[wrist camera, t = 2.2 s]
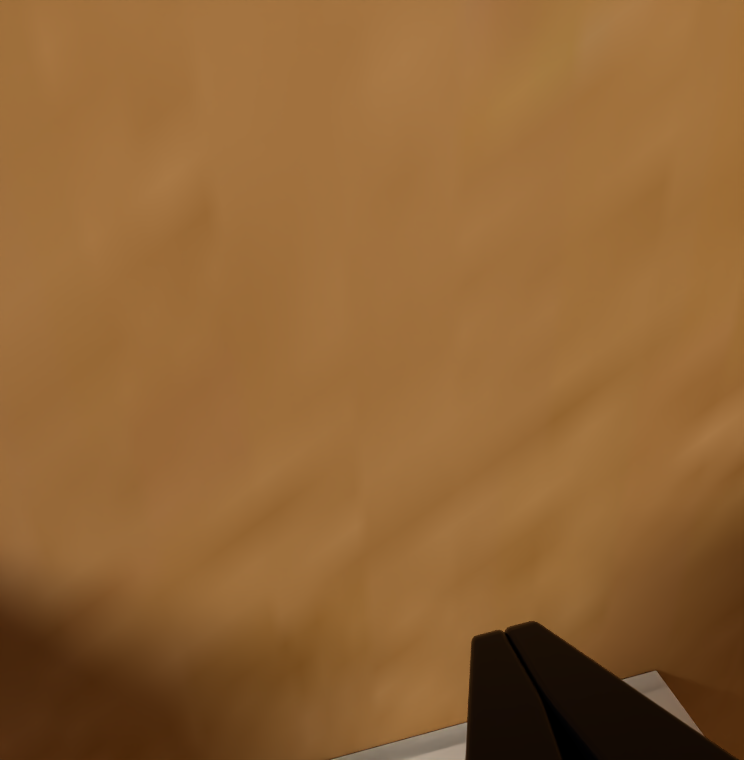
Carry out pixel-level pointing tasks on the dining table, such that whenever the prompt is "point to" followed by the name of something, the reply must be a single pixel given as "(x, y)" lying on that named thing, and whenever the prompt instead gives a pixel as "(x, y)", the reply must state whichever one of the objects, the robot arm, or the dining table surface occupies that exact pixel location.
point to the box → (448, 746)
